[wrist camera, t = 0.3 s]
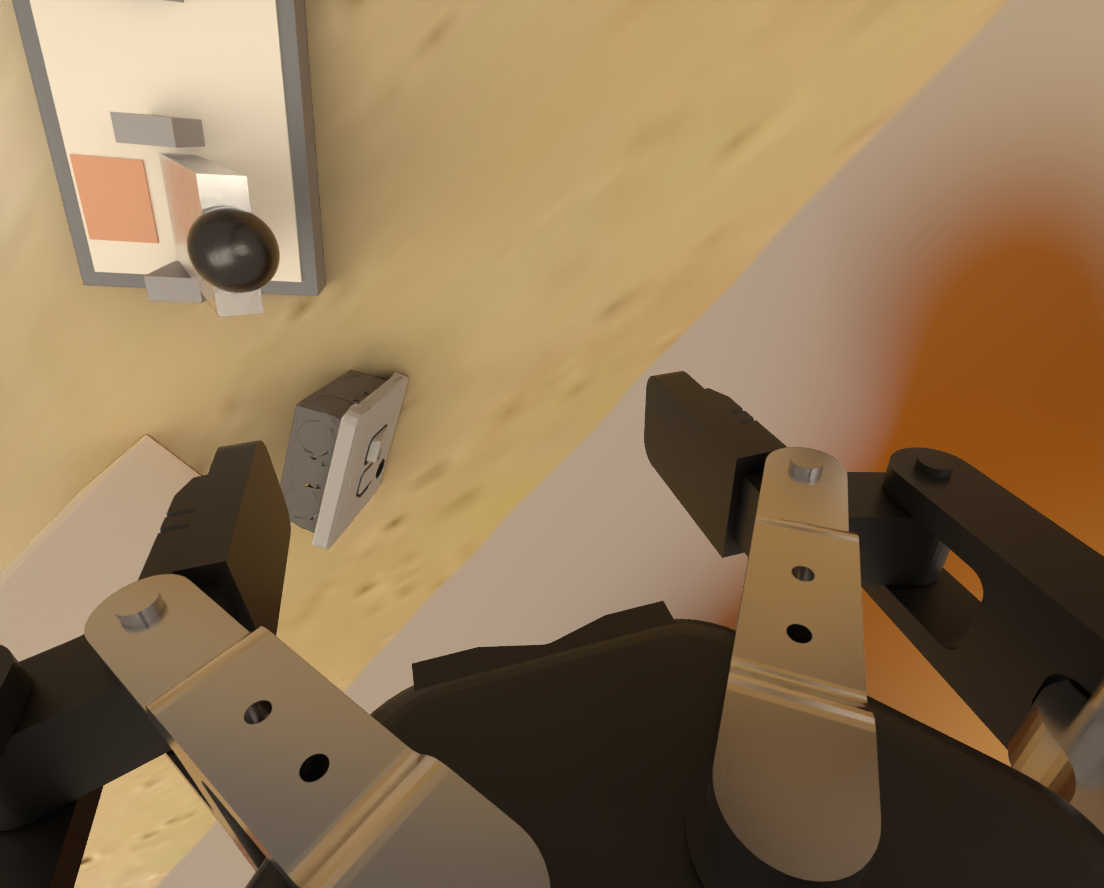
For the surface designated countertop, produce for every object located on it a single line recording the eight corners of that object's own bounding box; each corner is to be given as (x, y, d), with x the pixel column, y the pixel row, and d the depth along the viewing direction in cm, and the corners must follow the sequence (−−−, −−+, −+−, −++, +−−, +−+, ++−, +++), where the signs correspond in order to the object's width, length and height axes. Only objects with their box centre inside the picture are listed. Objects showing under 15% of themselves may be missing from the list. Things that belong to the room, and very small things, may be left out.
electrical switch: (379, 486, 45) (353, 561, 36) (308, 468, 43) (264, 541, 35) (411, 372, 41) (390, 425, 33) (334, 349, 40) (292, 398, 32)
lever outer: (141, 151, 29) (180, 177, 19) (211, 155, 30) (281, 182, 21) (161, 258, 31) (206, 332, 21) (226, 257, 33) (295, 325, 23)
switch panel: (-13, -255, 25) (-159, -384, 19) (289, -195, 28) (247, -292, 21) (109, 274, 35) (39, 304, 29) (325, 284, 37) (304, 314, 31)
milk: (163, 537, 43) (-52, 863, 24) (84, 484, 41) (-232, 804, 21) (223, 488, 42) (49, 786, 23) (146, 430, 40) (-125, 715, 20)
